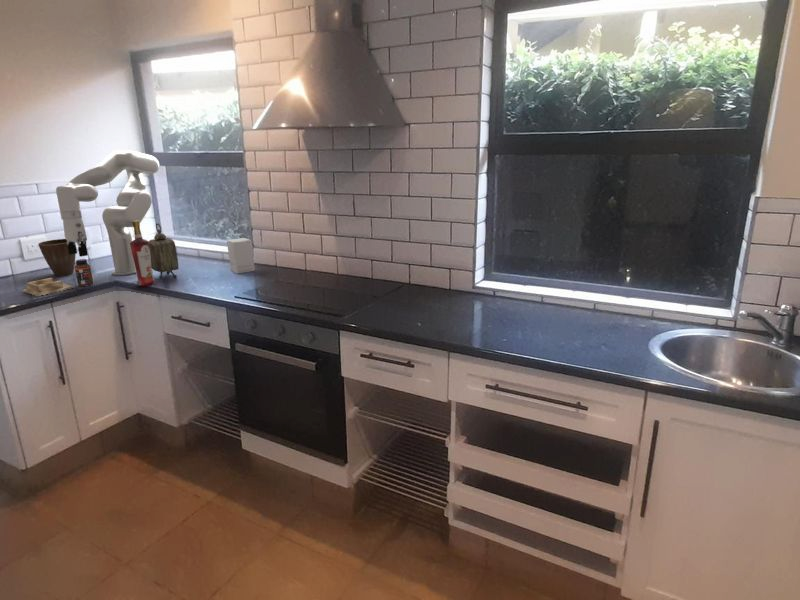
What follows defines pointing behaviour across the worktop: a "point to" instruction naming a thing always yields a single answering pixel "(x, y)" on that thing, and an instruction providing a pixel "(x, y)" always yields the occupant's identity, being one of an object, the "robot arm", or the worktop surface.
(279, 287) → the worktop surface
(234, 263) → the supplement box
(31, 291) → the cradle
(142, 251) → the liquor
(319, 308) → the worktop surface
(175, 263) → the tabletop clock
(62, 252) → the plant pot
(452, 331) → the worktop surface
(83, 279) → the supplement bottle
